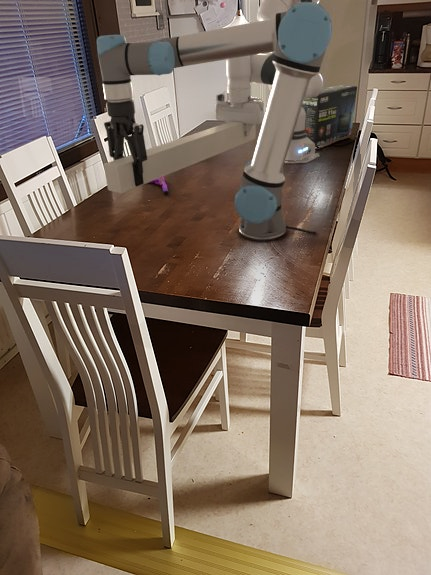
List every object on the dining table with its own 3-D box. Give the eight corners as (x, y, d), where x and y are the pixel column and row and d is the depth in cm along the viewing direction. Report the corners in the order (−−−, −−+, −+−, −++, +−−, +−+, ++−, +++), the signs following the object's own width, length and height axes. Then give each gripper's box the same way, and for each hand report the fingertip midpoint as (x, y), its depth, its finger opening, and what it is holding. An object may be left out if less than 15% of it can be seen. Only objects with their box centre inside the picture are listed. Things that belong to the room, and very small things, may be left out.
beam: (121, 193, 130) (117, 166, 126) (108, 190, 133) (103, 163, 129) (255, 138, 179) (255, 118, 175) (243, 137, 182) (243, 117, 178)
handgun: (147, 181, 199) (146, 177, 198) (164, 179, 200) (164, 175, 199) (150, 197, 182) (149, 192, 181) (169, 195, 183) (169, 190, 182)
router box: (314, 151, 231) (318, 94, 217) (296, 148, 237) (299, 92, 224) (352, 138, 251) (358, 85, 238) (335, 135, 258) (340, 83, 245)
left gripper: (154, 99, 122) (163, 184, 134) (107, 96, 132) (119, 175, 144) (133, 104, 117) (145, 191, 129) (86, 100, 127) (101, 182, 139)
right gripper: (267, 96, 164) (267, 135, 171) (221, 92, 174) (222, 130, 182) (258, 99, 159) (258, 139, 167) (211, 95, 170) (213, 133, 177)
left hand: (132, 182), depth 136 cm, fingers closed on beam, 6 cm apart
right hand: (239, 134), depth 174 cm, fingers closed on beam, 5 cm apart
